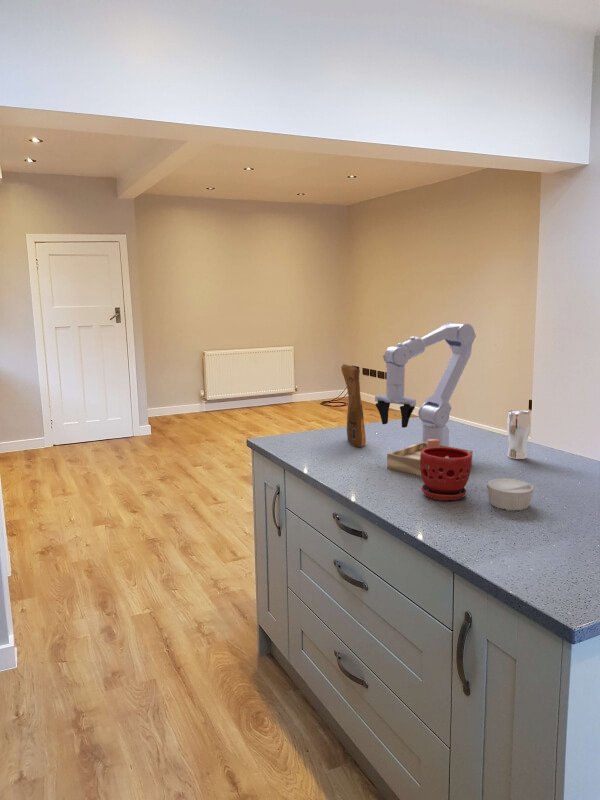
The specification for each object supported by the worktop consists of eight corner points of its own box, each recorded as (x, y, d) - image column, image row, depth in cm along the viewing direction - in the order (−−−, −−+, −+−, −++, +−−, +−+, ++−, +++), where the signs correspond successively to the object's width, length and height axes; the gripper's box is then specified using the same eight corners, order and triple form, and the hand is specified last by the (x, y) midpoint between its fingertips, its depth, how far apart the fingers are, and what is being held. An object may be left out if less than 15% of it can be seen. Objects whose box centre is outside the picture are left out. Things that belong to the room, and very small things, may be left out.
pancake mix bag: (350, 449, 212) (350, 368, 207) (340, 436, 230) (340, 362, 226) (369, 448, 212) (369, 368, 208) (358, 435, 231) (358, 361, 226)
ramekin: (527, 516, 148) (528, 495, 147) (480, 507, 153) (481, 487, 153) (536, 502, 157) (538, 482, 156) (492, 495, 163) (493, 476, 162)
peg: (430, 462, 194) (431, 438, 192) (441, 465, 191) (442, 440, 190) (423, 465, 191) (424, 440, 189) (435, 467, 188) (435, 442, 187)
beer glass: (504, 459, 196) (506, 413, 194) (506, 453, 203) (508, 409, 200) (528, 461, 194) (530, 414, 191) (528, 455, 200) (531, 410, 198)
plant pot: (467, 506, 155) (469, 460, 153) (415, 500, 159) (416, 455, 157) (472, 490, 167) (473, 447, 165) (423, 485, 171) (424, 443, 169)
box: (421, 455, 203) (422, 441, 202) (472, 464, 191) (472, 450, 190) (387, 468, 188) (387, 454, 188) (439, 479, 176) (439, 464, 175)
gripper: (369, 383, 199) (369, 424, 202) (407, 387, 190) (406, 430, 192) (382, 381, 205) (381, 421, 207) (420, 385, 195) (418, 427, 197)
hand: (394, 425), depth 200 cm, fingers open, 7 cm apart
